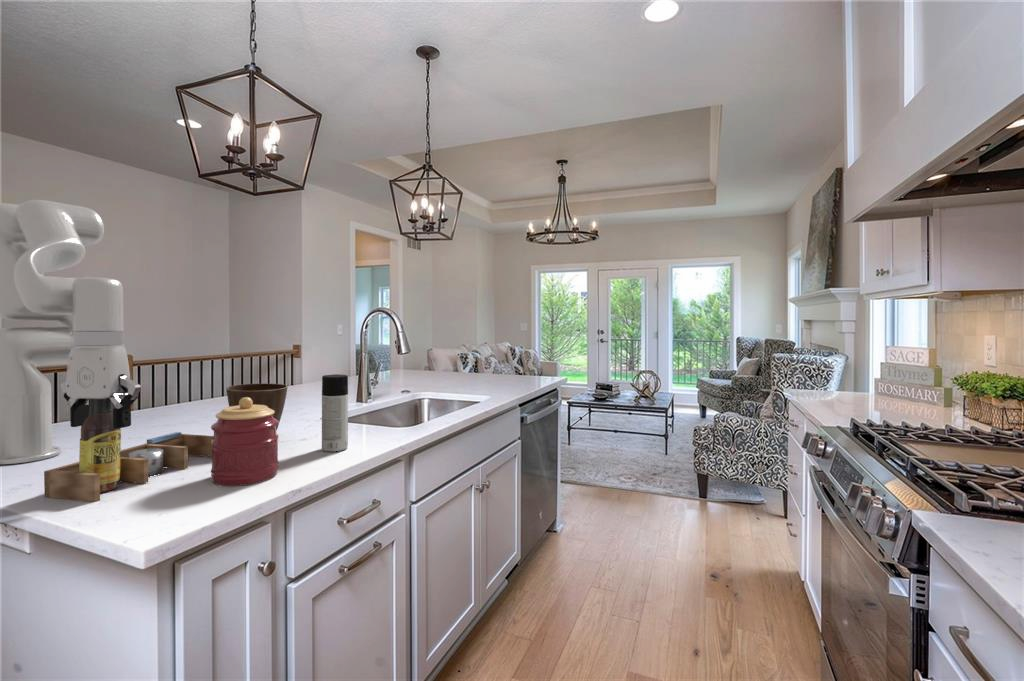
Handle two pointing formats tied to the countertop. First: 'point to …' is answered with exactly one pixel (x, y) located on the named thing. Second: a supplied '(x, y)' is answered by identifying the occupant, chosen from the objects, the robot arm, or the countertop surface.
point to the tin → (151, 459)
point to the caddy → (125, 466)
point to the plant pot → (260, 396)
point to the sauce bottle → (101, 444)
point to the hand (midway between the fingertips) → (101, 426)
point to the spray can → (334, 412)
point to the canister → (244, 444)
